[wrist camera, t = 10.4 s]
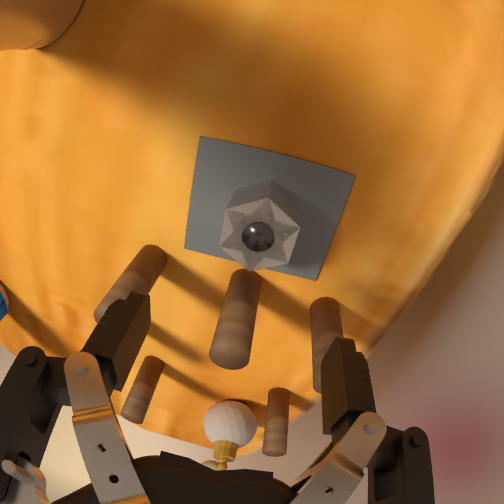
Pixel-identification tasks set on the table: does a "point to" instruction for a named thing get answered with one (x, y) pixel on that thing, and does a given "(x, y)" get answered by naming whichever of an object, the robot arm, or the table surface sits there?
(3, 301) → the beer can
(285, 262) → the nut
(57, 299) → the table surface
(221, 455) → the perfume bottle
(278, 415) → the post field
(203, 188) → the felt mat
